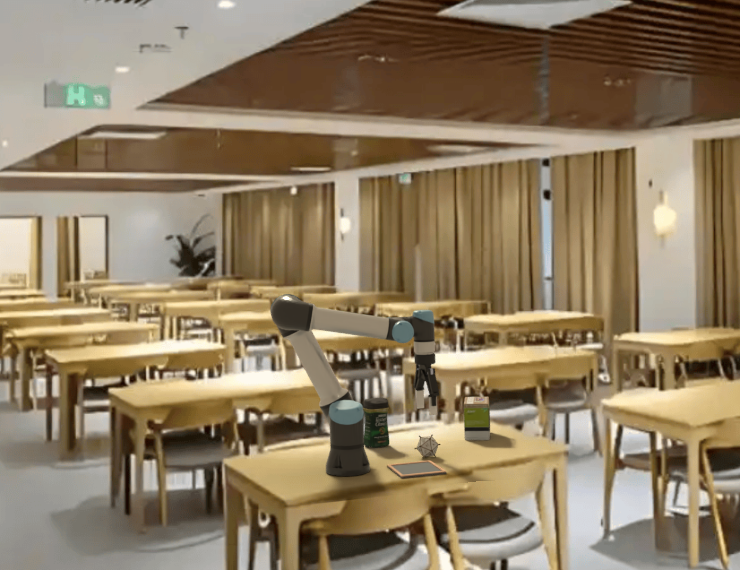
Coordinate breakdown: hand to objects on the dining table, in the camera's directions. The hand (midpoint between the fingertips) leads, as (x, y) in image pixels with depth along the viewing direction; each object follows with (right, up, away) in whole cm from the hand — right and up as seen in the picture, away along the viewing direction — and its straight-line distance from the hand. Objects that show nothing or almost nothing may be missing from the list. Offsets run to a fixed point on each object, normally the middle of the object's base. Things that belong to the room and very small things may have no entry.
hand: (426, 411), depth 330 cm
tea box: (+22, -15, +33) cm, 42 cm away
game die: (0, -17, +1) cm, 17 cm away
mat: (-5, -18, -17) cm, 25 cm away
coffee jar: (-18, -16, +21) cm, 32 cm away
